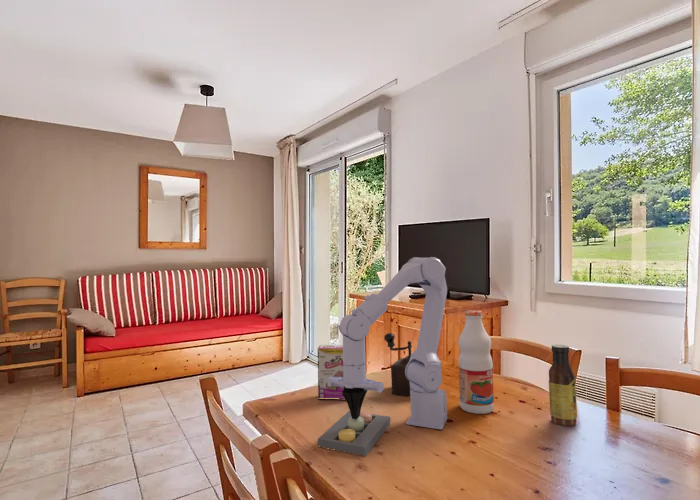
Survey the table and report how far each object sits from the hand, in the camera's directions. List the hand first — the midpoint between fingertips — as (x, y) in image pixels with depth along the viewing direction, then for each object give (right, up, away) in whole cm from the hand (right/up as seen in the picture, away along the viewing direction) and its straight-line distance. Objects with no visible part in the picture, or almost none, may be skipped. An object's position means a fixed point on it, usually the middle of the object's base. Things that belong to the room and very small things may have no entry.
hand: (355, 417), depth 101 cm
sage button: (0, -3, 0) cm, 3 cm away
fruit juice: (+35, -4, +15) cm, 39 cm away
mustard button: (-2, -4, -5) cm, 7 cm away
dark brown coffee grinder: (+16, -5, +32) cm, 36 cm away
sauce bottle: (+55, -3, +4) cm, 55 cm away
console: (0, -5, 0) cm, 4 cm away
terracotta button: (+2, -4, +5) cm, 7 cm away
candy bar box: (-6, -5, +27) cm, 28 cm away
